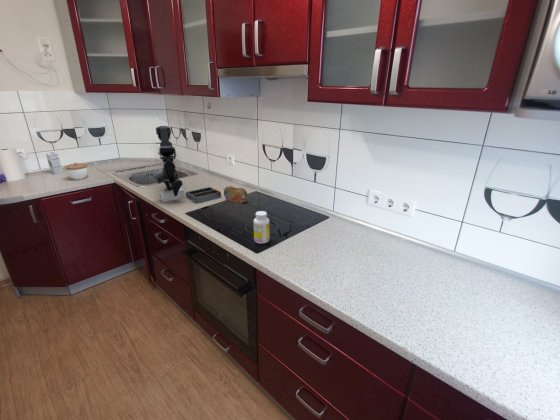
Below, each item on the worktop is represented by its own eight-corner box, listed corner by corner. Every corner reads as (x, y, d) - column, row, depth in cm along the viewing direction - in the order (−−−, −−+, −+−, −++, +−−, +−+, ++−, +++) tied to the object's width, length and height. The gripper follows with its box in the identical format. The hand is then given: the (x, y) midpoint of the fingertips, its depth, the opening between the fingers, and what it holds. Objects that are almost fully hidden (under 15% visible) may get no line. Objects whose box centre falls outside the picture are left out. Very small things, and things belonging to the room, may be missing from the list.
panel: (161, 200, 171) (160, 192, 169) (181, 196, 178) (181, 188, 176) (163, 202, 168) (162, 194, 166) (184, 197, 176) (183, 189, 174)
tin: (223, 199, 174) (223, 185, 171) (227, 197, 176) (226, 184, 173) (245, 204, 167) (245, 190, 164) (248, 202, 170) (248, 188, 167)
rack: (186, 197, 176) (185, 191, 174) (210, 191, 186) (210, 185, 184) (195, 203, 167) (195, 197, 165) (221, 197, 176) (220, 191, 175)
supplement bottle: (266, 235, 133) (266, 209, 128) (271, 242, 127) (271, 215, 122) (252, 238, 130) (251, 211, 126) (256, 245, 125) (256, 217, 120)
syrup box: (63, 172, 219) (58, 152, 213) (54, 174, 214) (48, 154, 209) (59, 171, 222) (54, 151, 216) (50, 173, 217) (45, 153, 212)
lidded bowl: (74, 182, 199) (70, 165, 194) (64, 179, 205) (60, 163, 200) (93, 177, 209) (90, 162, 205) (83, 174, 215) (79, 159, 210)
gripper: (148, 166, 168) (152, 192, 174) (160, 173, 155) (164, 201, 161) (168, 163, 174) (171, 189, 181) (181, 170, 161) (184, 197, 167)
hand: (172, 194), depth 172 cm, fingers open, 9 cm apart
